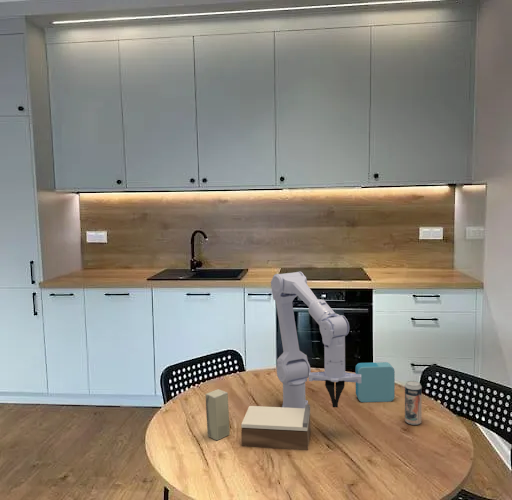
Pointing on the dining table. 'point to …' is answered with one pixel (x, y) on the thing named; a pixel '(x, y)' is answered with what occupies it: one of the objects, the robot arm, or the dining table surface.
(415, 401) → the beer can
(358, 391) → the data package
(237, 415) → the dining table surface
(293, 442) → the walnut box
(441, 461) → the dining table surface
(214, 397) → the box
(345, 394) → the dining table surface
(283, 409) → the lid
